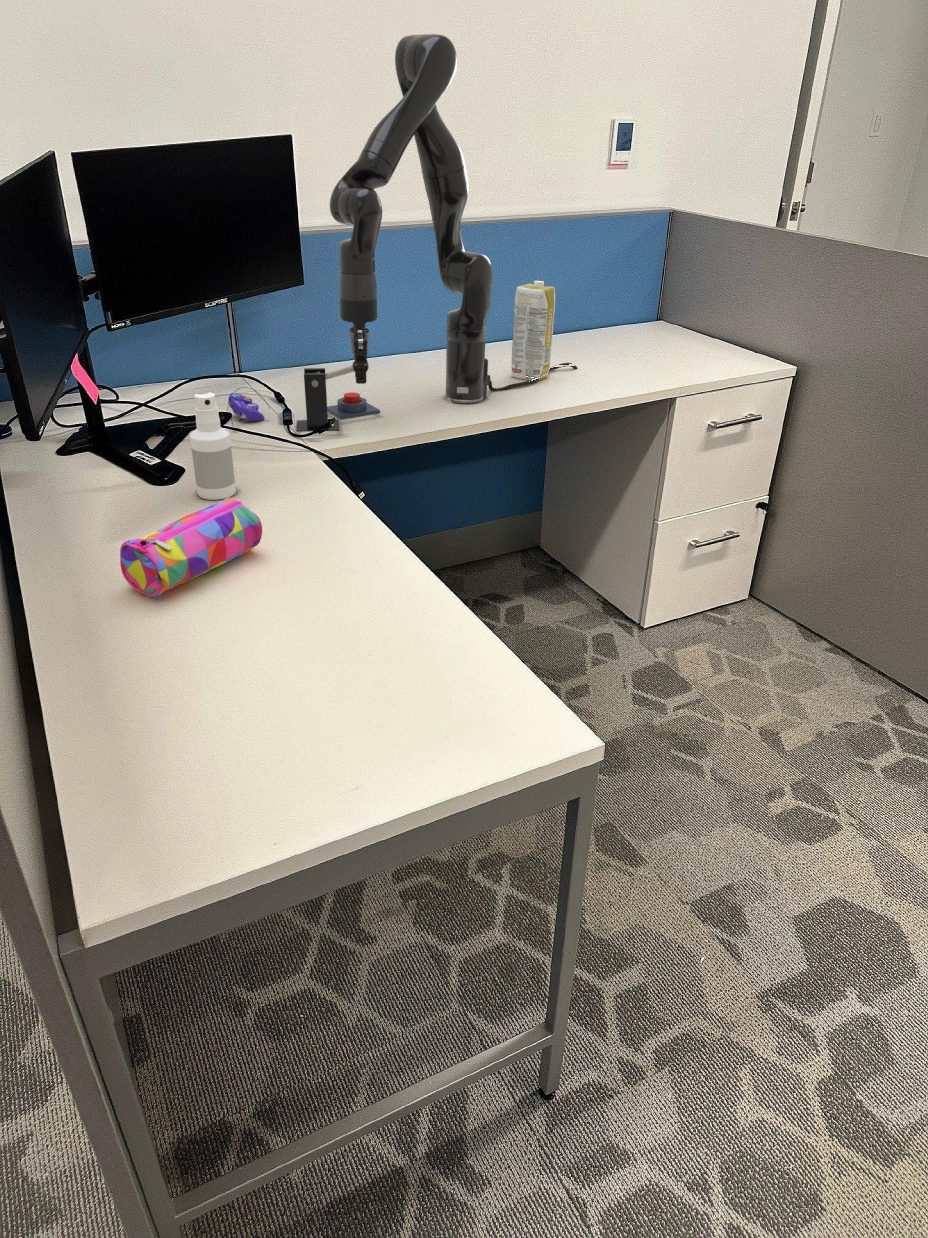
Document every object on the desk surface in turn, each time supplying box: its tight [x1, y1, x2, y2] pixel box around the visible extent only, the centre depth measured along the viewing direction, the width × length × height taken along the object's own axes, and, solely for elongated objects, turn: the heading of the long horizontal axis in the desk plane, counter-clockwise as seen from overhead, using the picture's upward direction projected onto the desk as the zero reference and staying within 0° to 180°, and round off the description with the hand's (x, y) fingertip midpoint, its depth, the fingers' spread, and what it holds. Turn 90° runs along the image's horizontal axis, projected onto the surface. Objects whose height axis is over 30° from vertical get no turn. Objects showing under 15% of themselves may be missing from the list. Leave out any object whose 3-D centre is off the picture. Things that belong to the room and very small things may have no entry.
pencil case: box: [119, 497, 263, 598], centre depth 129 cm, size 22×9×9 cm, turn 148°
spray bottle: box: [189, 392, 237, 501], centre depth 153 cm, size 7×7×18 cm
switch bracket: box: [295, 367, 340, 433], centre depth 185 cm, size 9×7×13 cm
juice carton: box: [510, 280, 556, 382], centre depth 224 cm, size 9×8×24 cm
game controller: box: [221, 386, 270, 428], centre depth 191 cm, size 10×8×10 cm
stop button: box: [343, 391, 361, 403], centre depth 196 cm, size 4×4×2 cm
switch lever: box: [315, 358, 370, 381], centre depth 183 cm, size 13×3×3 cm, turn 98°
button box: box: [327, 396, 381, 421], centre depth 197 cm, size 10×8×4 cm
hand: (360, 380), depth 184 cm, fingers closed on switch lever, 3 cm apart
